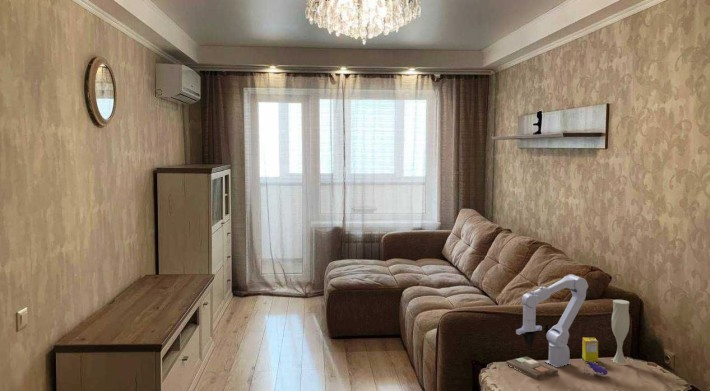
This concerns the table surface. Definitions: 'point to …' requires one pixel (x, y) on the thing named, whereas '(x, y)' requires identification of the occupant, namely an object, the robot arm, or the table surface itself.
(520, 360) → the sage button
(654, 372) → the table surface
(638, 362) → the table surface
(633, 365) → the table surface
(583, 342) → the supplement box
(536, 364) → the cream button
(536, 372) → the button panel
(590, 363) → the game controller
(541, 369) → the terracotta button
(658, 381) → the table surface
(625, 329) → the vase
